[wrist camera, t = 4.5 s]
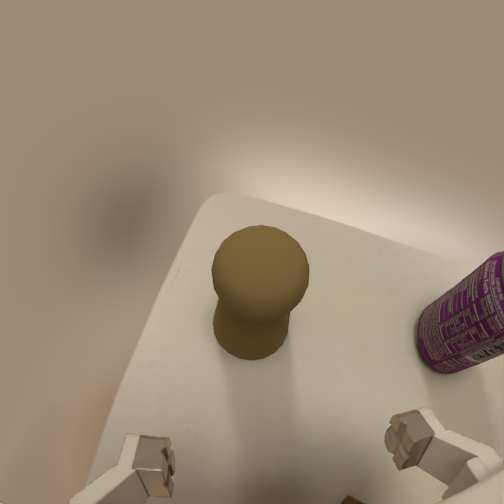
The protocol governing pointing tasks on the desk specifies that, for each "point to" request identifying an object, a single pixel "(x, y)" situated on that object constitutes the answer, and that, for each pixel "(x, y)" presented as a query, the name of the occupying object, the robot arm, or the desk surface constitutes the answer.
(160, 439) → the robot arm
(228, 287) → the cork
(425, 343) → the beverage can
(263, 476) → the desk surface
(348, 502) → the tray
